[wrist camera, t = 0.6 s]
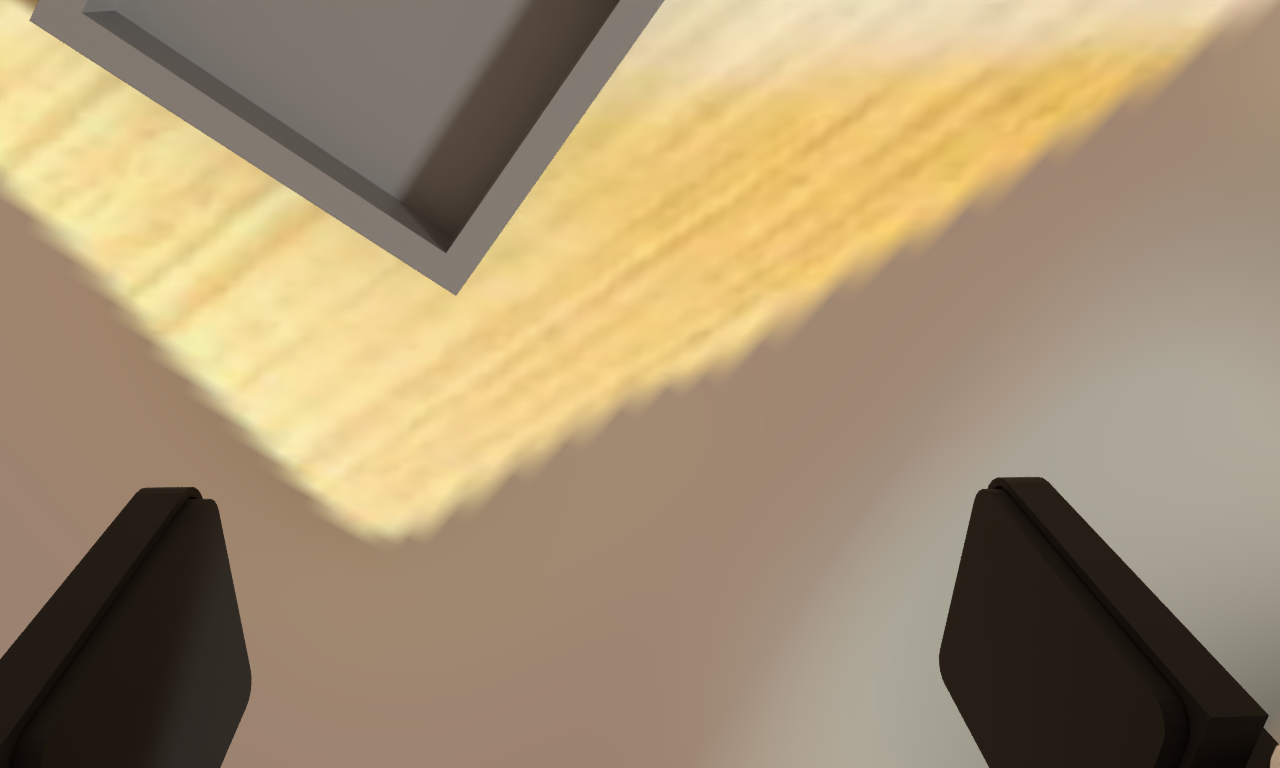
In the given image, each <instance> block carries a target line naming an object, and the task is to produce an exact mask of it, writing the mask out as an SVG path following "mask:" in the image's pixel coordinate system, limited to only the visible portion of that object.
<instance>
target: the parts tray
mask: <svg viewBox="0 0 1280 768" xmlns="http://www.w3.org/2000/svg"><path fill="white" fill-rule="evenodd" d="M663 1H664V0H39V1H38V3H37V5H36V7H35V10H34V12H33V14H32V16H31V18H30V20H29V21H31V22H32V23H34V24H36V25H37V26H39V27H40V28H42V29H43V30H45V31H46V32H48V33H49V34H51V35H53V36H54V37H56V38H57V39H59V40H60V41H62V42H63V43H65V44H67V45H68V46H70V47H71V48H73V49H74V50H76V51H77V52H79V53H80V54H82V55H84V56H85V57H87V58H88V59H90V60H91V61H93V62H94V63H96V64H98V65H99V66H101V67H102V68H104V69H105V70H107V71H108V72H110V73H111V74H113V75H115V76H116V77H118V78H119V79H121V80H122V81H124V82H125V83H127V84H129V85H130V86H132V87H133V88H135V89H136V90H138V91H139V92H141V93H142V94H144V95H146V96H147V97H149V98H150V99H152V100H153V101H155V102H156V103H158V104H159V105H161V106H163V107H164V108H166V109H167V110H169V111H170V112H172V113H173V114H175V115H177V116H178V117H180V118H181V119H183V120H184V121H186V122H187V123H189V124H190V125H192V126H194V127H195V128H197V129H198V130H200V131H201V132H203V133H204V134H206V135H208V136H209V137H211V138H212V139H214V140H215V141H217V142H218V143H220V144H221V145H223V146H225V147H226V148H228V149H229V150H231V151H232V152H234V153H235V154H237V155H239V156H240V157H242V158H243V159H245V160H246V161H248V162H249V163H251V164H252V165H254V166H256V167H257V168H259V169H260V170H262V171H263V172H265V173H266V174H268V175H270V176H271V177H273V178H274V179H276V180H277V181H279V182H280V183H282V184H283V185H285V186H287V187H288V188H290V189H291V190H293V191H294V192H296V193H297V194H299V195H301V196H302V197H304V198H305V199H307V200H308V201H310V202H311V203H313V204H314V205H316V206H318V207H319V208H321V209H322V210H324V211H325V212H327V213H328V214H330V215H332V216H333V217H335V218H336V219H338V220H339V221H341V222H342V223H344V224H345V225H347V226H349V227H350V228H352V229H353V230H355V231H356V232H358V233H359V234H361V235H363V236H364V237H366V238H367V239H369V240H370V241H372V242H373V243H375V244H376V245H378V246H380V247H381V248H383V249H384V250H386V251H387V252H389V253H390V254H392V255H394V256H395V257H397V258H398V259H400V260H401V261H403V262H404V263H406V264H407V265H409V266H411V267H412V268H414V269H415V270H417V271H418V272H420V273H421V274H423V275H425V276H426V277H428V278H429V279H431V280H432V281H434V282H435V283H437V284H438V285H440V286H442V287H443V288H445V289H446V290H448V291H449V292H451V293H452V294H454V295H455V296H456V295H457V294H458V292H459V291H460V290H461V288H462V287H463V285H464V284H465V282H466V281H467V280H468V278H469V277H470V275H471V274H472V273H473V271H474V270H475V268H476V267H477V265H478V264H479V263H480V261H481V260H482V258H483V257H484V255H485V254H486V253H487V251H488V250H489V248H490V247H491V246H492V244H493V243H494V241H495V240H496V238H497V237H498V236H499V234H500V233H501V231H502V230H503V229H504V227H505V226H506V224H507V223H508V221H509V220H510V219H511V217H512V216H513V214H514V213H515V211H516V210H517V209H518V207H519V206H520V204H521V203H522V202H523V200H524V199H525V197H526V196H527V194H528V193H529V192H530V190H531V189H532V187H533V186H534V185H535V183H536V182H537V180H538V179H539V177H540V176H541V175H542V173H543V172H544V170H545V169H546V167H547V166H548V165H549V163H550V162H551V160H552V159H553V158H554V156H555V155H556V153H557V152H558V150H559V149H560V148H561V146H562V145H563V143H564V142H565V141H566V139H567V138H568V136H569V135H570V133H571V132H572V131H573V129H574V128H575V126H576V125H577V123H578V122H579V121H580V119H581V118H582V116H583V115H584V114H585V112H586V111H587V109H588V108H589V106H590V105H591V104H592V102H593V101H594V99H595V98H596V97H597V95H598V94H599V92H600V91H601V89H602V88H603V87H604V85H605V84H606V82H607V81H608V79H609V78H610V77H611V75H612V74H613V72H614V71H615V70H616V68H617V67H618V65H619V64H620V62H621V61H622V60H623V58H624V57H625V55H626V54H627V53H628V51H629V50H630V48H631V47H632V45H633V44H634V43H635V41H636V40H637V38H638V37H639V36H640V34H641V33H642V31H643V30H644V28H645V27H646V26H647V24H648V23H649V21H650V20H651V18H652V17H653V16H654V14H655V13H656V11H657V10H658V9H659V7H660V6H661V4H662V3H663Z"/></svg>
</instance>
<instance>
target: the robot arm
mask: <svg viewBox="0 0 1280 768" xmlns="http://www.w3.org/2000/svg"><path fill="white" fill-rule="evenodd" d="M939 665H940V672H941V676H942V679H943V681H944V683H945V685H946V687H947V689H948V691H949V692H950V695H951V697H952V699H953V700H954V702H955V704H956V706H957V708H958V710H959V712H960V713H961V715H962V717H963V719H964V721H965V723H966V725H967V727H968V729H969V730H970V732H971V734H972V736H973V738H974V740H975V742H976V743H977V745H978V747H979V749H980V751H981V753H982V755H983V757H984V758H985V760H986V762H987V764H988V766H989V768H1280V744H1278V743H1277V742H1276V741H1275V740H1274V739H1273V737H1272V736H1271V735H1270V734H1269V733H1268V732H1267V731H1266V730H1265V729H1264V728H1263V727H1264V725H1265V722H1266V720H1267V718H1268V714H1267V713H1266V712H1265V711H1264V710H1263V709H1262V708H1261V707H1260V706H1259V704H1258V703H1257V702H1256V701H1255V700H1254V699H1253V698H1252V697H1251V696H1250V695H1249V694H1248V693H1247V692H1246V691H1245V690H1244V689H1243V688H1242V686H1241V685H1240V684H1239V683H1238V682H1237V681H1236V680H1235V679H1234V678H1233V677H1232V676H1231V675H1230V674H1229V673H1228V672H1227V671H1226V670H1225V668H1224V667H1223V666H1222V665H1221V664H1220V663H1219V662H1218V661H1217V660H1216V659H1215V658H1214V657H1213V656H1212V655H1211V654H1210V653H1209V652H1208V651H1207V649H1206V648H1205V647H1204V646H1203V645H1202V644H1201V643H1200V642H1199V641H1198V640H1197V639H1196V638H1195V637H1194V636H1193V635H1192V634H1191V633H1190V631H1189V630H1188V629H1187V628H1186V627H1185V626H1184V625H1183V624H1182V623H1181V622H1180V621H1179V620H1178V619H1177V618H1176V617H1175V616H1174V615H1173V614H1172V612H1171V611H1170V610H1169V609H1168V608H1167V607H1166V606H1165V605H1164V604H1163V603H1162V602H1161V601H1160V600H1159V599H1158V598H1157V596H1156V595H1155V594H1154V593H1153V592H1152V591H1151V590H1150V589H1149V588H1148V587H1147V586H1146V585H1145V584H1144V583H1143V582H1142V581H1141V580H1140V578H1138V577H1137V575H1136V574H1135V573H1134V572H1133V571H1132V570H1131V569H1130V568H1129V567H1128V566H1127V565H1126V564H1125V563H1124V562H1123V561H1122V559H1121V558H1120V557H1119V556H1118V555H1117V554H1116V553H1115V552H1114V551H1113V550H1112V549H1111V548H1110V547H1109V546H1108V545H1107V544H1106V542H1105V541H1104V540H1103V539H1102V538H1101V537H1100V536H1099V535H1098V534H1097V533H1096V532H1095V531H1094V530H1093V529H1092V528H1091V527H1090V526H1089V525H1088V523H1087V522H1086V521H1085V520H1084V519H1083V518H1082V517H1081V516H1080V515H1079V514H1078V513H1077V512H1076V511H1075V510H1074V509H1073V508H1072V507H1071V505H1069V503H1068V502H1067V501H1066V500H1065V499H1064V498H1063V497H1062V496H1061V495H1060V494H1059V493H1058V492H1057V491H1056V490H1055V488H1053V486H1052V485H1051V484H1050V483H1049V482H1048V481H1046V480H1045V479H1044V478H1040V477H1011V478H1010V477H1008V478H1007V477H1006V478H1005V477H1004V478H996V479H994V480H992V482H991V483H990V484H989V486H988V489H982V490H980V491H979V492H978V493H977V494H976V497H975V500H974V504H973V508H972V513H971V518H970V521H969V526H968V530H967V535H966V539H965V543H964V548H963V552H962V556H961V561H960V565H959V569H958V574H957V578H956V582H955V587H954V591H953V596H952V600H951V604H950V609H949V613H948V618H947V622H946V626H945V630H944V635H943V639H942V643H941V648H940V653H939ZM250 692H251V670H250V664H249V660H248V655H247V649H246V645H245V640H244V634H243V629H242V624H241V620H240V614H239V609H238V604H237V599H236V594H235V589H234V584H233V579H232V575H231V570H230V565H229V559H228V554H227V550H226V545H225V539H224V535H223V529H222V525H221V520H220V515H219V510H218V507H217V504H216V503H215V501H214V500H212V499H203V498H202V496H201V494H200V492H199V490H197V489H196V488H194V487H164V488H143V489H140V490H139V491H138V492H137V493H136V494H135V495H134V496H133V498H132V499H131V500H130V501H129V502H128V504H127V505H126V506H125V507H124V509H123V510H122V511H121V512H120V514H119V515H118V516H117V517H116V518H115V520H114V521H113V522H112V523H111V525H110V526H109V527H108V528H107V529H106V531H105V532H104V533H103V534H102V536H101V537H100V538H99V539H98V541H97V542H96V543H95V544H94V545H93V547H92V548H91V549H90V550H89V552H88V553H87V554H86V555H85V557H84V558H83V559H82V560H81V561H80V563H79V564H78V565H77V566H76V567H75V569H74V570H73V571H72V572H71V573H70V575H69V576H68V577H67V578H66V580H65V581H64V582H63V583H62V585H61V586H60V587H59V588H58V589H57V591H56V592H55V593H54V595H53V596H52V597H51V598H50V599H49V601H48V602H47V603H46V604H45V605H44V607H43V608H42V609H41V610H40V612H39V613H38V614H37V615H36V616H35V618H34V619H33V620H32V621H31V623H30V624H29V625H28V626H27V628H26V629H25V630H24V631H23V632H22V633H21V635H20V636H19V637H18V638H17V640H16V641H15V642H14V643H13V644H12V646H11V647H10V648H9V649H8V651H7V652H6V653H5V654H4V656H3V657H2V658H1V659H0V768H220V767H221V764H222V762H223V760H224V758H225V755H226V753H227V750H228V748H229V746H230V744H231V741H232V739H233V737H234V734H235V732H236V730H237V728H238V725H239V723H240V721H241V718H242V716H243V714H244V711H245V709H246V706H247V704H248V701H249V696H250Z"/></svg>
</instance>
